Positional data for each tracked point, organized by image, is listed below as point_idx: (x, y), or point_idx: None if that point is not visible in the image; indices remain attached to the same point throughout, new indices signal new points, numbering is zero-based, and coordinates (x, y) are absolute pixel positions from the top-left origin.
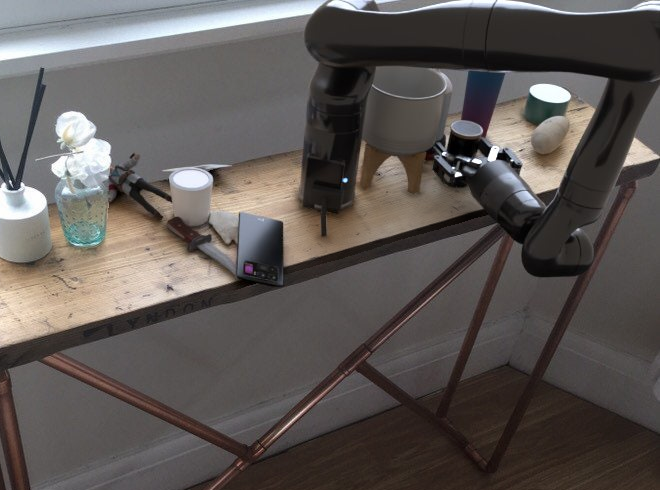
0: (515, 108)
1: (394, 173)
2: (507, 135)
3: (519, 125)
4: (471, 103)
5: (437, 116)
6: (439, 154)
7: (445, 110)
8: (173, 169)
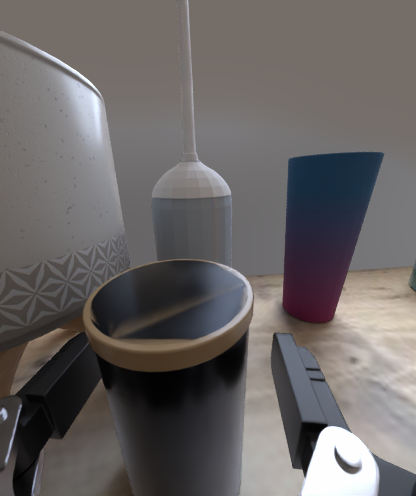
0: (391, 275)
1: None
2: (385, 317)
3: (407, 301)
4: (294, 244)
5: None
6: (19, 393)
7: (206, 242)
8: None
